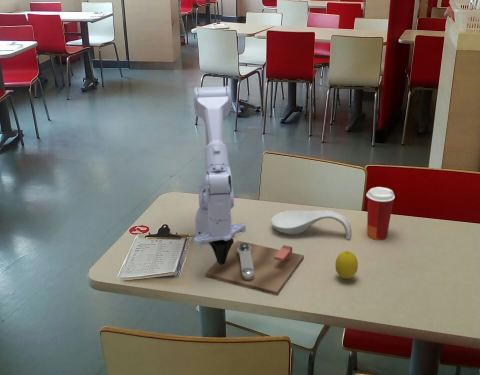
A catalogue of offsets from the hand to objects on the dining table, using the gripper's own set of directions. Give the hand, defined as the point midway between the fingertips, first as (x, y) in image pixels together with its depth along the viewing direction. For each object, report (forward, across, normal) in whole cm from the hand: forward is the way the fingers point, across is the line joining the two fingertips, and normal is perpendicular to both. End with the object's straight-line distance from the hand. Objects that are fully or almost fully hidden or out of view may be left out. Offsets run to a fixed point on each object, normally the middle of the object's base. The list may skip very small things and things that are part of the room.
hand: (221, 262), depth 143 cm
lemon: (+2, +23, -22) cm, 32 cm away
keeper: (+1, +14, -8) cm, 16 cm away
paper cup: (+2, +47, -11) cm, 48 cm away
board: (+2, +8, -4) cm, 9 cm away
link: (+1, +6, -3) cm, 7 cm away
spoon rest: (+2, +33, +2) cm, 33 cm away
